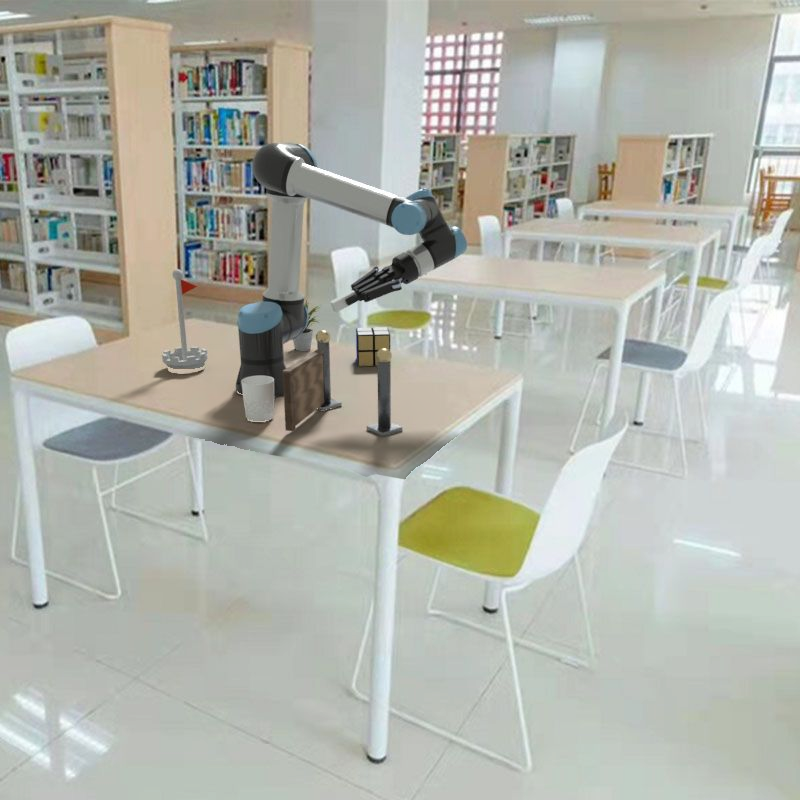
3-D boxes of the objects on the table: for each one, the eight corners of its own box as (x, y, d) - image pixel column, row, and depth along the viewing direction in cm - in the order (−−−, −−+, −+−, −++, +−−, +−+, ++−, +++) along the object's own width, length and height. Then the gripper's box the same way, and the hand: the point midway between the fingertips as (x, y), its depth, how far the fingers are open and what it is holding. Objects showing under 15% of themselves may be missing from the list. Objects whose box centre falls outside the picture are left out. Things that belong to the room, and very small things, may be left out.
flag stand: (160, 376, 224) (150, 273, 214) (166, 364, 236) (157, 266, 227) (206, 374, 226) (198, 272, 216) (210, 362, 238) (202, 265, 228)
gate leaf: (318, 404, 197) (317, 349, 192) (325, 404, 196) (323, 350, 191) (285, 430, 179) (282, 370, 174) (292, 431, 178) (289, 371, 174)
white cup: (275, 423, 186) (272, 384, 183) (242, 424, 185) (239, 385, 182) (277, 413, 193) (275, 375, 190) (245, 413, 193) (243, 375, 190)
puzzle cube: (356, 358, 243) (355, 327, 240) (388, 357, 244) (387, 326, 240) (357, 367, 233) (357, 335, 230) (390, 366, 234) (390, 334, 231)
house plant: (326, 354, 246) (325, 304, 241) (283, 356, 245) (280, 305, 239) (324, 343, 260) (323, 296, 255) (283, 345, 258) (281, 297, 253)
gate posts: (309, 405, 199) (306, 330, 192) (327, 400, 202) (325, 326, 196) (382, 436, 177) (382, 353, 171) (402, 430, 181) (402, 348, 175)
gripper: (428, 285, 193) (349, 328, 187) (403, 270, 203) (327, 311, 197) (421, 259, 189) (339, 302, 183) (395, 245, 199) (317, 286, 193)
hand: (333, 307), depth 190 cm, fingers closed
